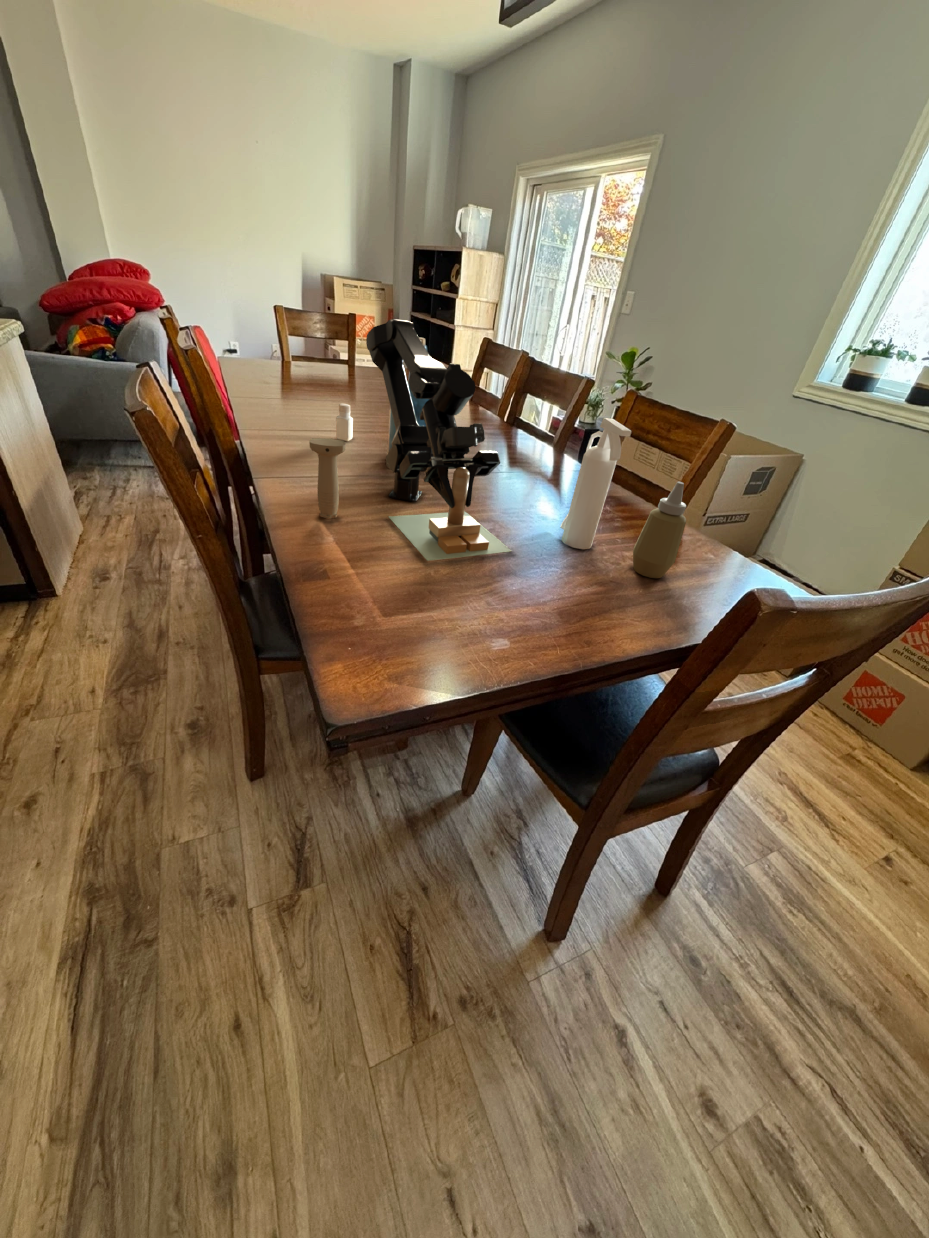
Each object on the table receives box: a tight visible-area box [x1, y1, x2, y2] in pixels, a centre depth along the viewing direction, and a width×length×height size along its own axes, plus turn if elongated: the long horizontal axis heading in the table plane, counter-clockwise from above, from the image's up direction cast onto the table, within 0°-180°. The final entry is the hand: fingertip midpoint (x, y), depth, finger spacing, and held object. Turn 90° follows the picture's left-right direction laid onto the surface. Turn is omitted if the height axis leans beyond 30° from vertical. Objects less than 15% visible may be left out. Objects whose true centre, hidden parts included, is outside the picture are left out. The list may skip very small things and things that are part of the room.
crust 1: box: [438, 536, 467, 554], centre depth 95 cm, size 4×4×2 cm
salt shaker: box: [335, 403, 354, 442], centre depth 147 cm, size 4×4×10 cm
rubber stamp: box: [429, 467, 482, 542], centre depth 96 cm, size 9×4×14 cm, turn 117°
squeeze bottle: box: [632, 481, 687, 579], centre depth 96 cm, size 8×8×18 cm
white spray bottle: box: [559, 417, 632, 550], centre depth 102 cm, size 7×12×25 cm, turn 16°
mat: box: [387, 511, 513, 562], centre depth 102 cm, size 20×18×1 cm
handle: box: [309, 437, 347, 520], centre depth 97 cm, size 5×6×15 cm
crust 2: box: [461, 534, 489, 551], centre depth 97 cm, size 4×4×2 cm
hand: (460, 506), depth 95 cm, fingers closed on rubber stamp, 3 cm apart
